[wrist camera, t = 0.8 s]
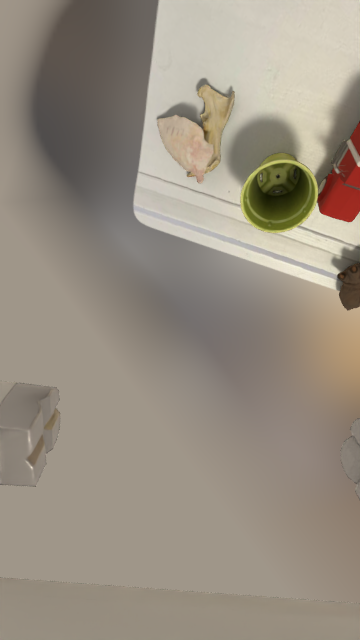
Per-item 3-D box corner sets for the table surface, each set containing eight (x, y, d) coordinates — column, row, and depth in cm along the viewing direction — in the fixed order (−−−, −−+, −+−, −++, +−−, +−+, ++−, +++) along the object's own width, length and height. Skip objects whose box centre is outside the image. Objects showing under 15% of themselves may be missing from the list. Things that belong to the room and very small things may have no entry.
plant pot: (242, 145, 46) (237, 166, 40) (314, 132, 43) (320, 154, 37) (247, 208, 52) (243, 235, 46) (311, 201, 49) (315, 229, 43)
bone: (201, 81, 42) (196, 83, 40) (237, 89, 41) (234, 92, 40) (187, 175, 50) (183, 180, 48) (217, 182, 50) (214, 188, 48)
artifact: (196, 188, 46) (147, 145, 48) (207, 181, 47) (159, 140, 49) (212, 143, 40) (156, 96, 42) (225, 137, 42) (170, 92, 43)
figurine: (388, 258, 48) (381, 312, 56) (374, 242, 51) (370, 295, 59) (342, 271, 50) (341, 321, 58) (332, 254, 53) (333, 304, 61)
